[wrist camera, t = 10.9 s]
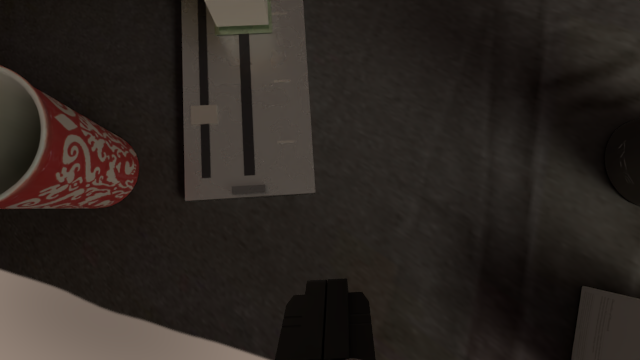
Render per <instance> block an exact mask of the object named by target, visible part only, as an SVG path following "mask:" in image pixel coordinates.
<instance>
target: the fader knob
mask: <svg viewBox="0 0 640 360" xmlns="http://www.w3.org/2000/svg"><path fill="white" fill-rule="evenodd" d="M204 1H205V3H206V5H207V7H208V9H209V11H210V14H211V16H212V18H213V20H214V22H215V24H216V26H217V27H223V26H247V25H269V22H268V3H267V0H204Z"/></svg>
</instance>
